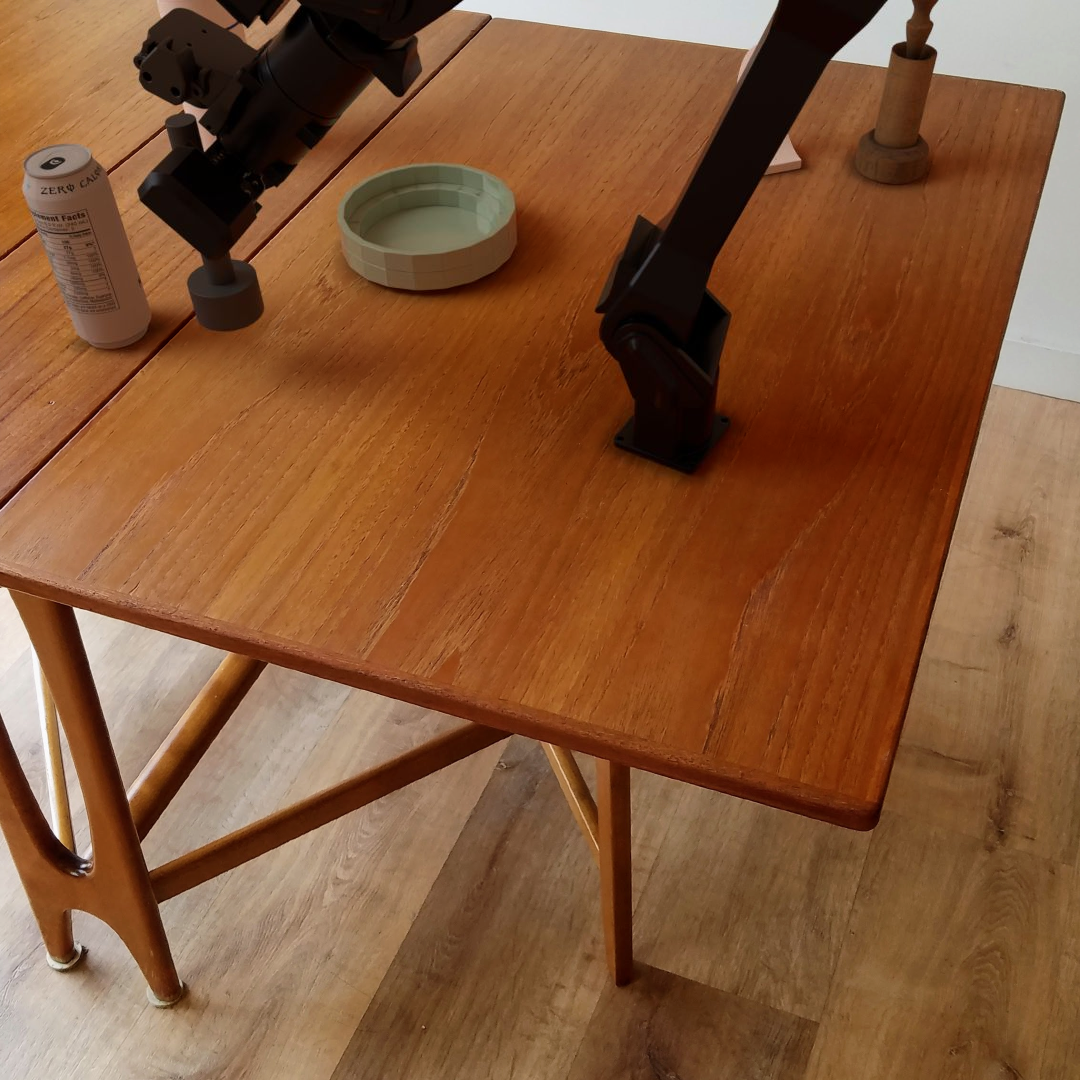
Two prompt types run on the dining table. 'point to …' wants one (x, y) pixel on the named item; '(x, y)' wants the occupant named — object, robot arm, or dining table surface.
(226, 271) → the grey rod with base
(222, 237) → the robot arm
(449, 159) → the dining table surface
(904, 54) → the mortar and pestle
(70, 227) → the energy drink can
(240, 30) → the cylindrical container
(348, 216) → the bowl
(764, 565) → the dining table surface
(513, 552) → the dining table surface
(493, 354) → the dining table surface
